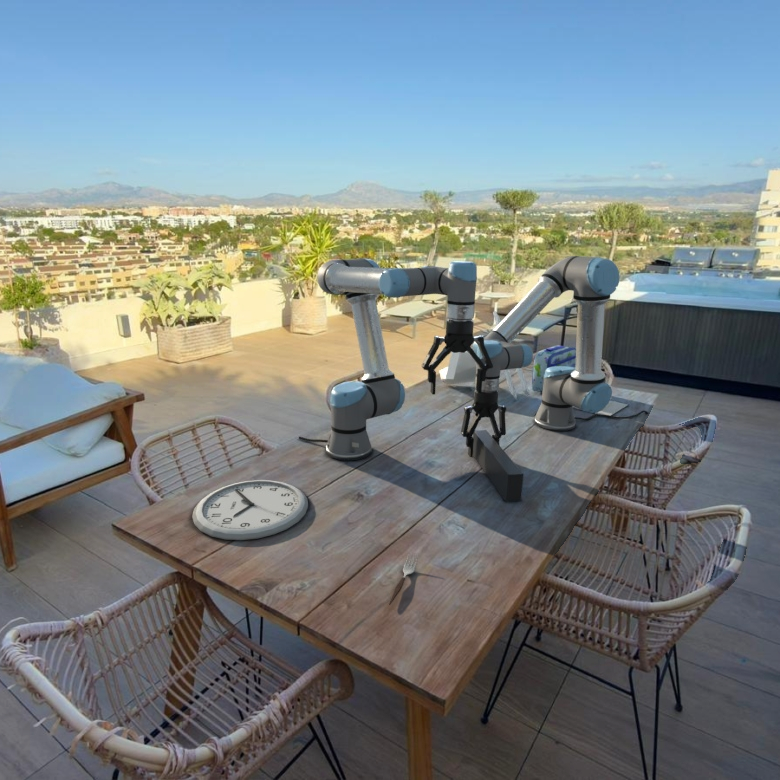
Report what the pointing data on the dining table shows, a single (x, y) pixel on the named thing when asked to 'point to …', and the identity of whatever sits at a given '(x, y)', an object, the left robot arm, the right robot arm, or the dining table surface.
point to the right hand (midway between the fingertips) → (481, 454)
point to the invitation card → (611, 408)
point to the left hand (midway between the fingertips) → (455, 392)
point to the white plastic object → (474, 370)
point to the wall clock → (250, 510)
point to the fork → (407, 571)
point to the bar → (498, 466)
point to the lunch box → (551, 363)
